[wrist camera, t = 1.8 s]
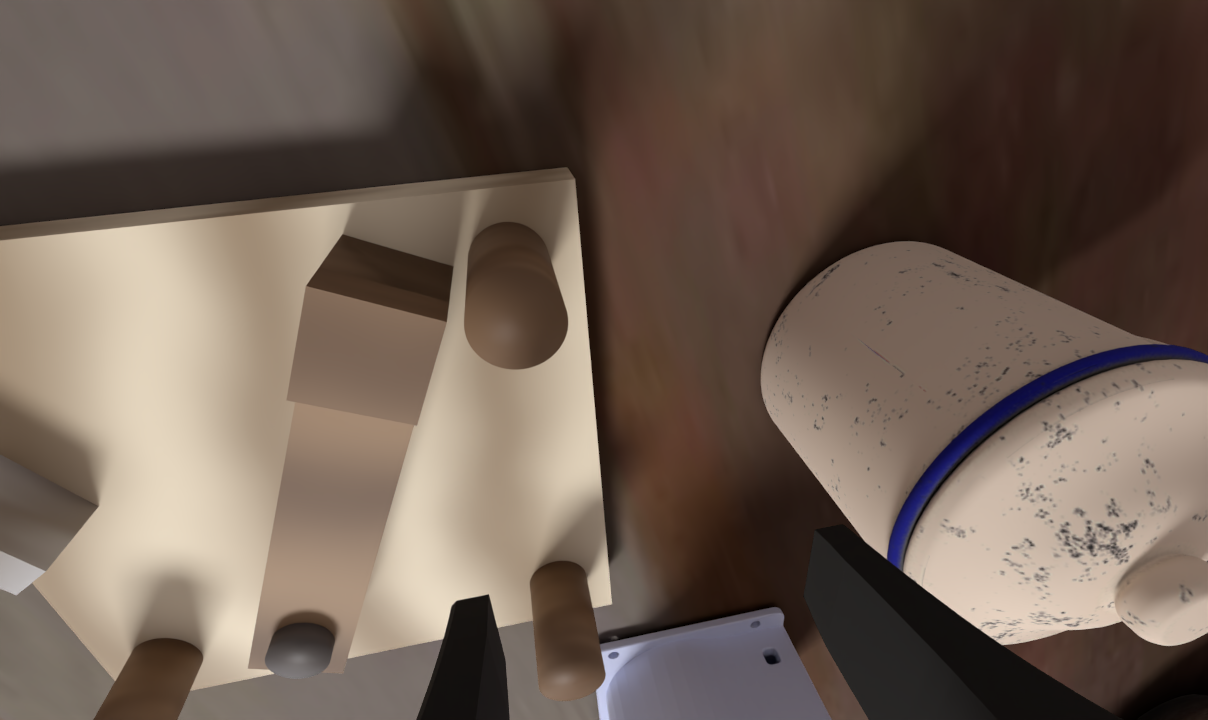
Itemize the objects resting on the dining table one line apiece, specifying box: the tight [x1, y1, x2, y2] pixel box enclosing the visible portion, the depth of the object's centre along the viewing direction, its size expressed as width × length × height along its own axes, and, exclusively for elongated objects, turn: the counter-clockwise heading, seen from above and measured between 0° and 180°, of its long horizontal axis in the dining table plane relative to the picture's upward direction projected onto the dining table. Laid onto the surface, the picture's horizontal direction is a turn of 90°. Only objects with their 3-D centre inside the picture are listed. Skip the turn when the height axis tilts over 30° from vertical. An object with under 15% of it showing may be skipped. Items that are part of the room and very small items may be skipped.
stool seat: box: [0, 167, 612, 720], centre depth 17 cm, size 18×17×6 cm
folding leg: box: [248, 234, 454, 679], centre depth 16 cm, size 14×3×4 cm, turn 158°
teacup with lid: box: [761, 241, 1208, 646], centre depth 17 cm, size 12×9×12 cm
